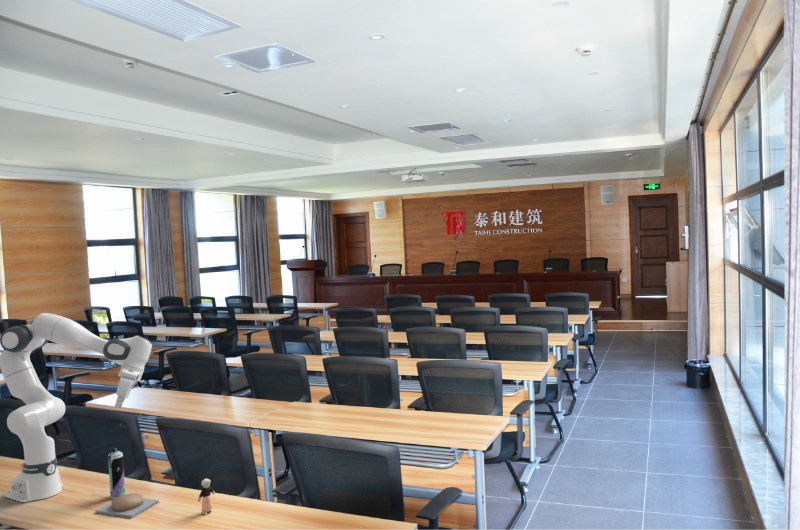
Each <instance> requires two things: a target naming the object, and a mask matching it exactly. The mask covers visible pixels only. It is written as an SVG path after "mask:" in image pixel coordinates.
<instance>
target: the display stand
mask: <svg viewBox="0 0 800 530" xmlns="http://www.w3.org/2000/svg"><path fill="white" fill-rule="evenodd" d="M157 503H158V504H160V500H159V499H152V498H144V497H143V494H141V493H138V492H133V493H132V492H131V493H127V494H126V493H125V495H121V496H119V497H117V498H115V499H112V500H111V502H109V503H107V504H105V505H103V506H101V507H99V508H97V509H96V510H95V514H99V515H100V514H101V515H106V516H107V515H109V516H116V517H121V518H122V517H123V518H127V517H129V519H134V518H135V517H138V516H139V515H140V514H142V513H144V512H145V510H146V511H147V510H149V509H151V508H152V506H153V505H154V506H156V505H158V504H157ZM155 504H156V505H155ZM154 506H153V507H154ZM150 507H151V508H150ZM148 508H149V509H148ZM143 511H144V512H143ZM138 514H139V515H138ZM134 516H135V517H134Z"/></svg>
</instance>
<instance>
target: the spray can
mask: <svg viewBox="0 0 800 530" xmlns="http://www.w3.org/2000/svg"><path fill="white" fill-rule="evenodd" d="M107 455H108V456H107V461H108V462H107V463H108V477H109V493H110V499H112V500H113V499H115V498H117V497H119V496H121V495H125V494H126V484H125V483H126V482H125V469H124V468H125V467H124V466H125V465H124V464H125V463H124V454H123V452H122V451H120V450H119V449H118V447H114V448H112V451H111V452H110V453H109V454H107Z"/></svg>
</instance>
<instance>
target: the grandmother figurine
mask: <svg viewBox="0 0 800 530" xmlns="http://www.w3.org/2000/svg"><path fill="white" fill-rule="evenodd" d="M210 485H211V480H210V479H209V478H204V479H203V480H201V486H202V490H201V491H200V493H199V495H198V499H197V502H198V503H200V502H201V501H202V502H201V513H202V514H206V513H207V511H211V510H213V504H212V498H211V494H212V495H214V496H215V494H216V493H215V490H214V488H213V487H212V486H210ZM202 514H201V515H202ZM206 515H207V514H206Z"/></svg>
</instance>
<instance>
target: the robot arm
mask: <svg viewBox="0 0 800 530" xmlns="http://www.w3.org/2000/svg"><path fill="white" fill-rule="evenodd" d="M48 342H52V343H55V344H58V345H62V346H67V347H73V348H78V349H86V350H90V351H93V352H96V353H98V354H101V355H103V356H104V357H105V359H107V360H108V361H110V362H112V363H114V364H116V365H118V366H120V370H119V373H118V374H117V375H118V377H120V378H119V382H118V384H117V388H116V392H115V394H116V395H117V398H116V402H115V403H114V407H115V408H118V409H121V408H122V407H123V403H124V402H125V400H126V399H128V398H129V395H130V394H131V392H132V391H131V390H132V388H133V386H135V385H136V383H137V382H139V383H140V382H141V380H142V376H143V374H144V372H145V366H146V365H147V363H148V361H149V358H150V356H151V353H152V349H153V343H152V342H151V341H150V340H149V339H147V338H145V337H143V336H141V335H134V336H133V337H127V338H111V339H109V340H108V339H105V338H103V337H101V336H98V335H96V334H94V332H93V333H92V332H91V331H90V330H89V329H87V328H86V327H84V326H83V325H82V324H80V323H78V322H76V321H74V320H72V319H71V318H68V317H65V316H62V315H59V314H55V313H49V312H42V313H39V314H38V315H36V317H35V318H34V319H33V321H32V323H31V324H21V325H16V326H12V327H9V328H7V329H5V330H4V331H3V332H2V333H1V335H0V346H1V348H3V350H4V351H2V352H1V353H0V370H1V374H2V376H3V379H4V381H5V383H6V385H7V388H8V391H9V392H10V394H11V396H13V397H14V398H17V399H20V400H21V401H22V402H23V403H24V404H25V405H22V406H20V407H18V408H17V409H14V410H13V411H12V412H10V413H9V414H8V417H7V418H6V425H7V428H8V430H9V431H10V432H11V433H12V434H15V435H17V437H18V438H19V439H20V441H21V444H22V447H23V457H24V463H22V464H20V468H22V470H21V471H20V473H19V474H18V475H17V476H16V477H15V478H14V479H13V480H12V481H11V484H10V490H9V491H8V492H5V494H4V498H6V497H7V498H6V499H9V498H10V499H9V500H12V499H13V500H12V501H15V500H16V501H15V502H18V501H19V502H18V503H21V502H22V503H21V504H23V502H24V503H28V502H32V501H33V502H34V501H38V500H43V499H47V498H50V497H54V496H55V495H58V494H59V493H60V492H62V491H63V486H64V484H63V482H61V481H62V480H61V477H60V476H61V475H60V472H59V471H60V470H59V467H58V459H57V456H56V448H55V447H56V446H55V445H56V444H55V439H54V438H53V437H51V436H49V435H47V433H46V430H45V427H46V426H49V425H51V424H53V423H55V422H57V421H58V420H60V419H61V418H63V416H64V415H65V413H66V404H65V402H64V401H63V400H62V399H61V398H59V397H56V396H54V395H53V394H52V393H50V392H49V391H48V390H47V389H46V388H45V386H43V384H42V383H41V381H40V379H39V377H38V374H37V372H36V370H35V368H34V366H33V363H32V362H31V357H30V356H31V354H35V353H37V352H38V351H39V350H40V349H41V348H43V347H44V346H46V344H47V343H48Z"/></svg>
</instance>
